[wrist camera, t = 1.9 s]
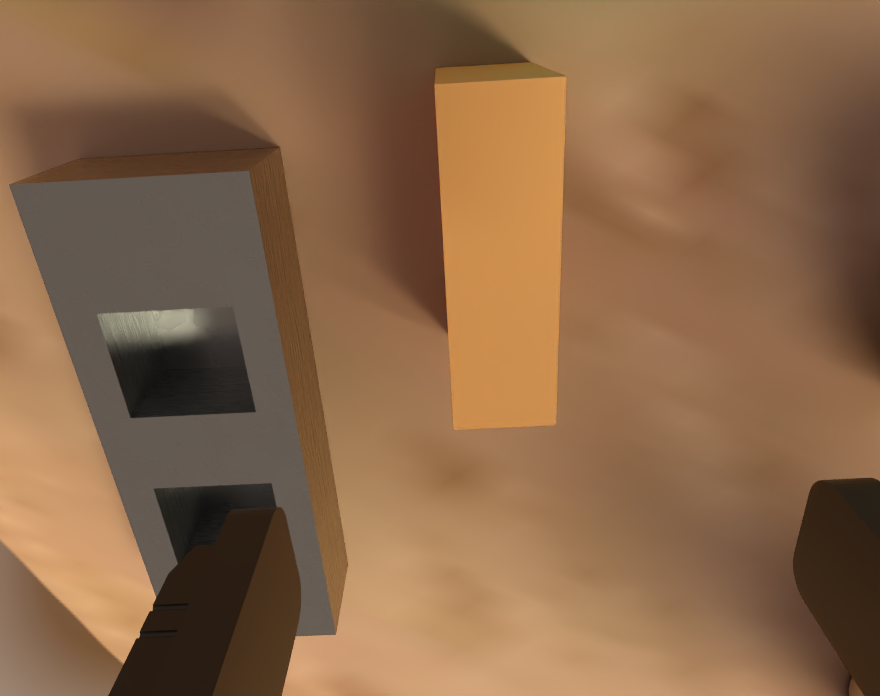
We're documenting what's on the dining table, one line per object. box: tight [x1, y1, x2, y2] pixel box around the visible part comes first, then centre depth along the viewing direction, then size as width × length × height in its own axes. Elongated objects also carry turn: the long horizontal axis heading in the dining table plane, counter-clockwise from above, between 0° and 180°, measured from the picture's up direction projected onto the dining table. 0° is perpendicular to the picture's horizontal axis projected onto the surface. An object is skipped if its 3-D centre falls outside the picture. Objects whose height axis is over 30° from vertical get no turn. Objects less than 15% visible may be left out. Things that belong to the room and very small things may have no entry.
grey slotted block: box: [9, 147, 348, 636], centre depth 28 cm, size 8×22×4 cm, turn 3°
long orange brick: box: [434, 62, 567, 430], centre depth 23 cm, size 4×11×8 cm, turn 3°
